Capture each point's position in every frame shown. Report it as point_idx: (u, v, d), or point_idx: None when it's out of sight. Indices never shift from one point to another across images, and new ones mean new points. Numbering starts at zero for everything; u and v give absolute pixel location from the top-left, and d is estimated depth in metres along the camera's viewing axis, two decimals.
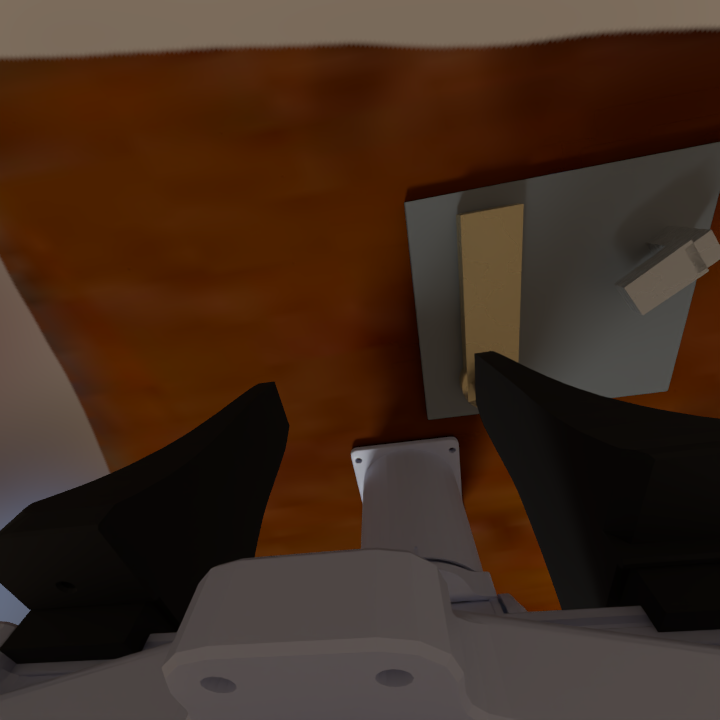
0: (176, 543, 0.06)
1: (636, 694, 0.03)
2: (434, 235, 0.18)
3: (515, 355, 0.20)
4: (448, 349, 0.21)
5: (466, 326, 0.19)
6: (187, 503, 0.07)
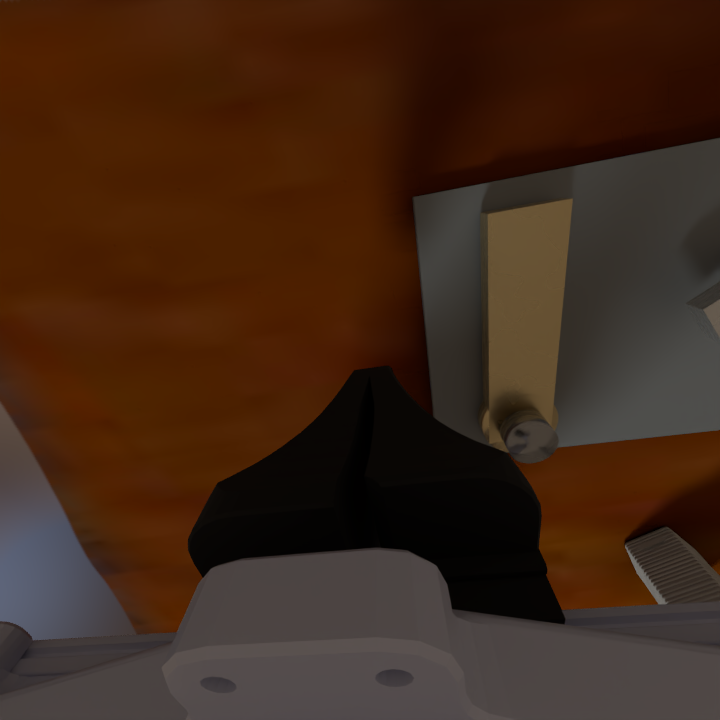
0: (357, 527, 0.06)
1: (636, 694, 0.03)
2: (451, 239, 0.14)
3: (550, 389, 0.16)
4: (465, 379, 0.17)
5: (490, 355, 0.15)
6: (356, 486, 0.06)
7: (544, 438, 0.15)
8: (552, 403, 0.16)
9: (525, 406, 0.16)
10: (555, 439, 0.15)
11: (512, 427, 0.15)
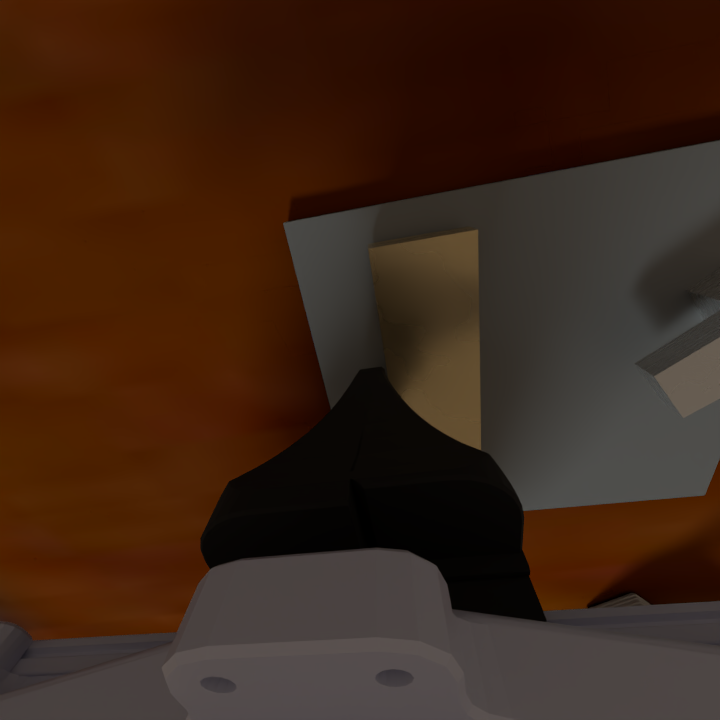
0: None
1: (636, 694, 0.03)
2: (339, 276, 0.11)
3: None
4: None
5: None
6: None
7: None
8: None
9: None
10: None
11: None
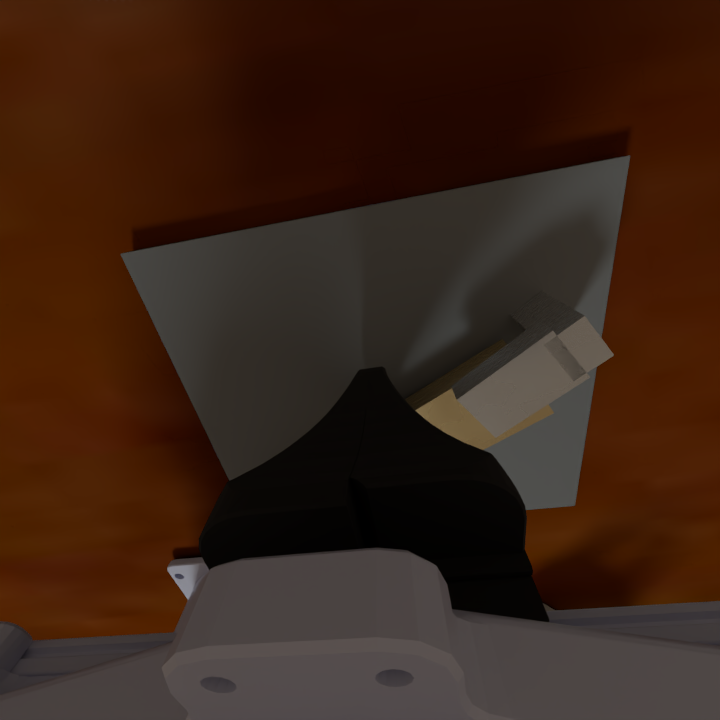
0: None
1: (636, 694, 0.03)
2: (184, 302, 0.12)
3: None
4: (255, 452, 0.15)
5: None
6: None
7: None
8: None
9: None
10: None
11: None
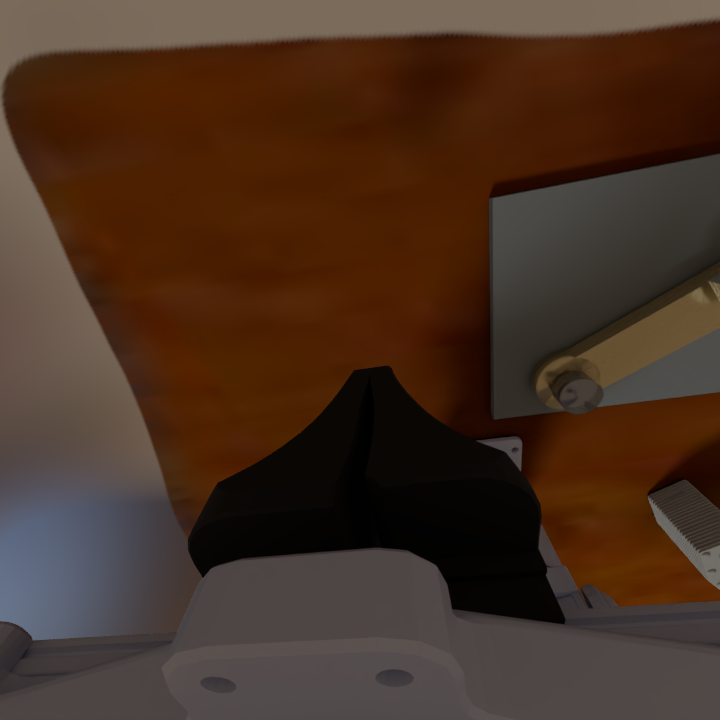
0: (357, 527, 0.06)
1: (636, 694, 0.03)
2: (520, 231, 0.18)
3: (607, 383, 0.20)
4: (522, 348, 0.21)
5: (630, 328, 0.18)
6: (356, 486, 0.06)
7: (592, 392, 0.19)
8: None
9: None
10: (600, 393, 0.19)
11: (565, 384, 0.19)
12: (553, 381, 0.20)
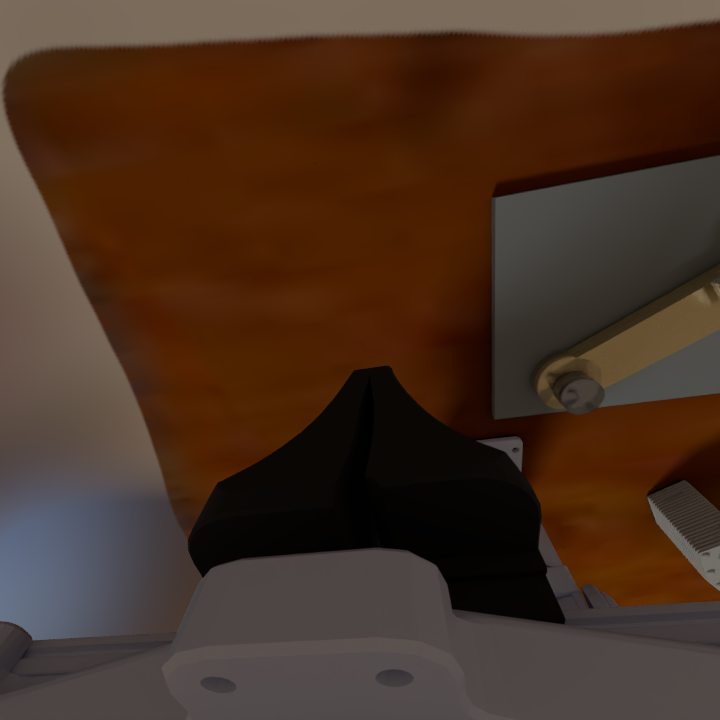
0: (357, 527, 0.06)
1: (636, 694, 0.03)
2: (522, 231, 0.18)
3: (608, 383, 0.20)
4: (523, 348, 0.21)
5: (631, 328, 0.18)
6: (356, 486, 0.06)
7: (593, 392, 0.19)
8: None
9: None
10: (602, 394, 0.19)
11: (567, 384, 0.19)
12: (554, 381, 0.20)
